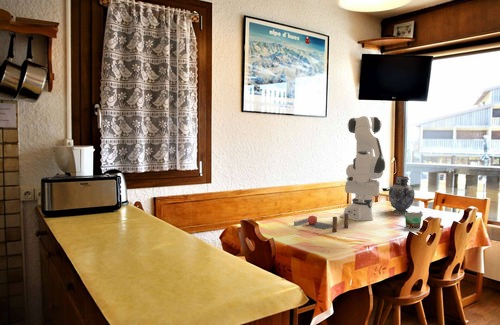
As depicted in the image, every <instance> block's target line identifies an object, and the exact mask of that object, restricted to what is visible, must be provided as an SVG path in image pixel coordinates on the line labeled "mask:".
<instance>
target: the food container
mask: <svg viewBox="0 0 500 325" xmlns="http://www.w3.org/2000/svg"><path fill="white" fill-rule="evenodd" d="M423 215H424V214H423V212H422V211H421V210H419V212H412V211H411V212H410V211H408V212H405V214H404V216H405V219H404V220H405V228H408V229H420V228H421V223H422V217H423Z"/></svg>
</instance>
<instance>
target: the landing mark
mask: <svg viewBox="0 0 500 325" xmlns="http://www.w3.org/2000/svg"><path fill="white" fill-rule="evenodd" d="M305 226H306V227H311V228H315V229H319V230H327V229H332V224H329V223H323V222H321V221H317V222H316V224H314V225H311V224H309V223H307V224H305Z"/></svg>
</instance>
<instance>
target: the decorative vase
mask: <svg viewBox="0 0 500 325" xmlns="http://www.w3.org/2000/svg"><path fill="white" fill-rule="evenodd" d="M409 180H410V178H409V177H408V176H406V175H405V176H404V175H403V176H402V175H398V176H396V178H395V184H393V185H391V186H390V188H389V190H388V198H389V202H390V205H391V207H392V208H393V209H394V210H392V212H393V213H395V212H396V213H395V214H402V213H405V212H409V211H407V210H408V209H410V207H412V205H413V202H414V199H415V189H414V188H413V187H412V185H411V186H410V185H409V184H408V183H409Z"/></svg>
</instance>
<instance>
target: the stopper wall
mask: <svg viewBox="0 0 500 325" xmlns="http://www.w3.org/2000/svg"><path fill="white" fill-rule="evenodd" d="M314 216H315V215H314ZM315 217H316V218H317V219H318V217H317V216H315ZM304 224H305V225H306V224H309V223H308V217H306V218H302V219H298V220H294V222H293V226H295V227H298V226H300V225H301V226H302V225H304Z"/></svg>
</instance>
